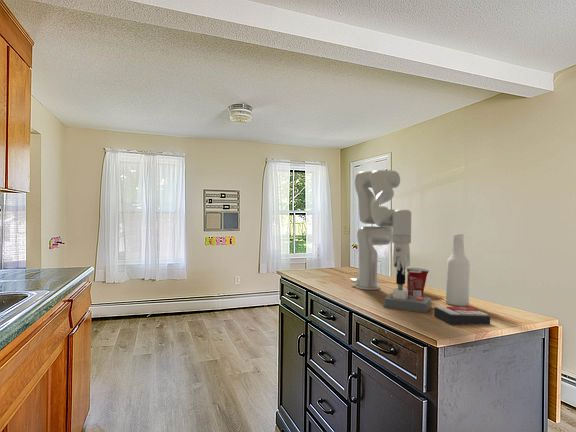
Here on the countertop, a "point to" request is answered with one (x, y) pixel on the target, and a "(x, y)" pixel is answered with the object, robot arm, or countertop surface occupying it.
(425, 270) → the plastic cup
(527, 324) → the countertop surface
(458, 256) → the alcohol
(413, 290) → the soda can
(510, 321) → the countertop surface
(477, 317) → the button control panel
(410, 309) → the socket plate
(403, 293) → the plug
